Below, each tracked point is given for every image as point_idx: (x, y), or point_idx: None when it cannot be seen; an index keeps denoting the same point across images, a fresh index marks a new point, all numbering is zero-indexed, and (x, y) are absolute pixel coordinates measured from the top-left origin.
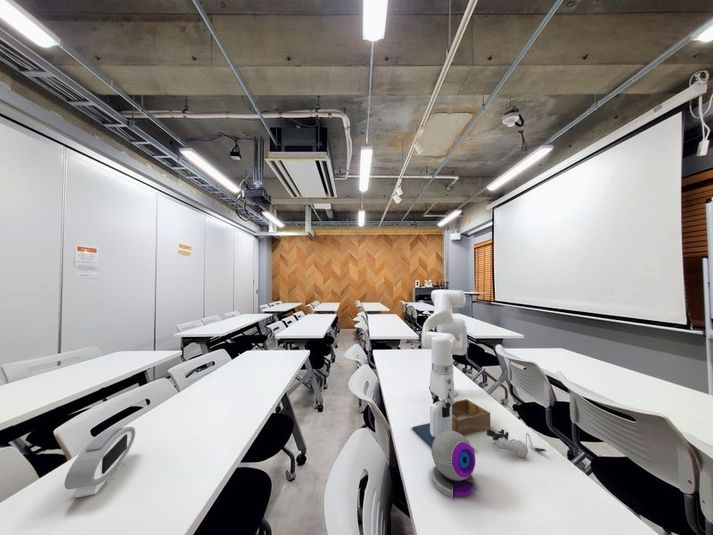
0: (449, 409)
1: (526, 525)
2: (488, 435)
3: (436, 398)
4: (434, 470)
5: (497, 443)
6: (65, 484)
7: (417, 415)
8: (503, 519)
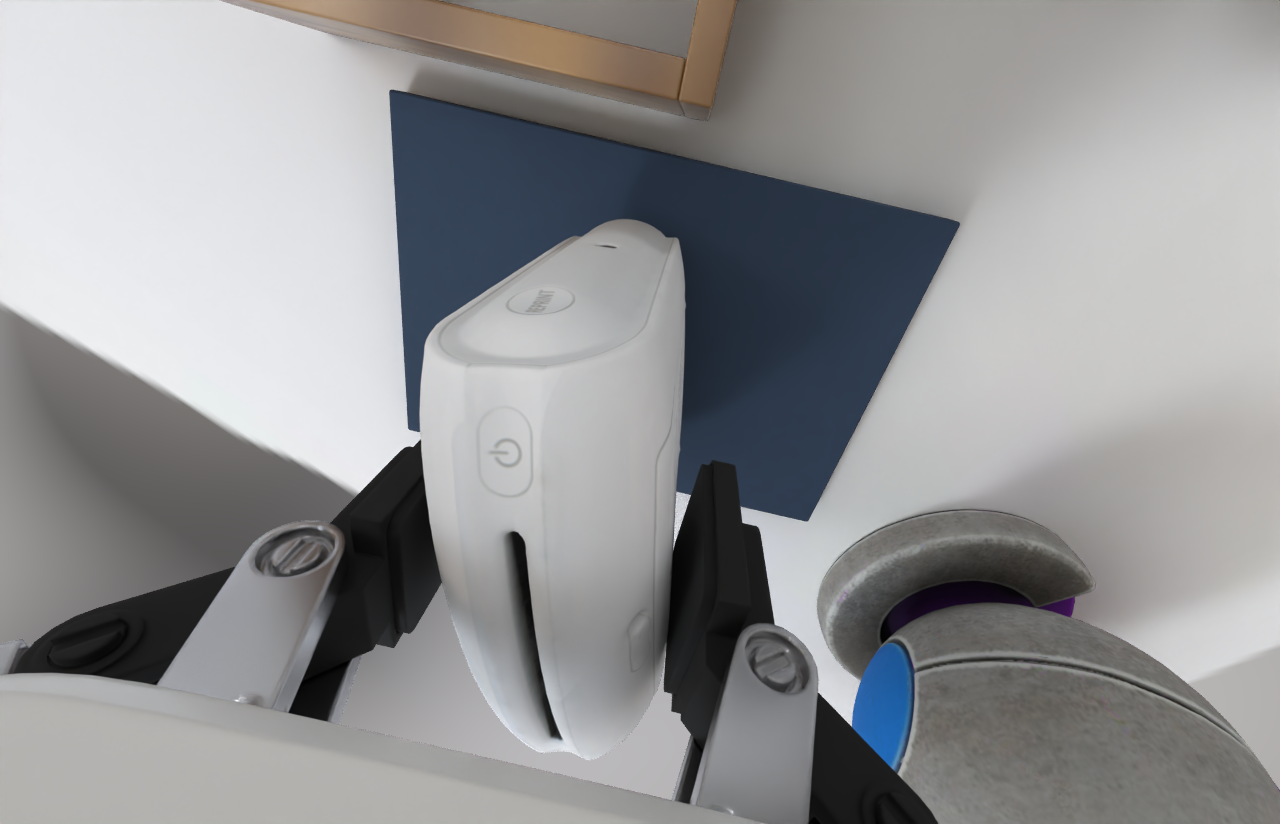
0: (743, 550)
1: None
2: None
3: (356, 631)
4: (846, 659)
5: None
6: None
7: (199, 192)
8: (1261, 618)
